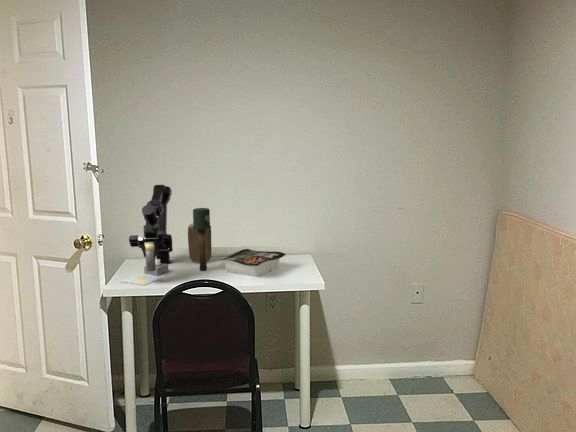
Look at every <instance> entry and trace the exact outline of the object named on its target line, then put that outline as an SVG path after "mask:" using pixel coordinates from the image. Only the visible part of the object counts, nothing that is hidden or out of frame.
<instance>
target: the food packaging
mask: <svg viewBox="0 0 576 432" xmlns="http://www.w3.org/2000/svg"><path fill="white" fill-rule="evenodd" d="M286 255H287V254H286V253H285V252H282V251H263V250H261V251H258V250H253V249H249V248H244V249H241V250H238V251H236V252H235V253H233V254H231V255H228V256H226V257H225V258H221V259H219V260H220V261H223V263H224V268H225V270H226V273H232V274H237V275H244V276H249V277H255V278H258V277H259V276H263V275H265V274H266V273H268V272H273V271H274V270H276V269H278V267H279V262H280V259H282V258H283V257H285V256H286Z"/></svg>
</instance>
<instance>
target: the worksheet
mask: <svg viewBox="0 0 576 432" xmlns="http://www.w3.org/2000/svg"><path fill="white" fill-rule="evenodd" d="M162 279H163V277H161V276H156V275H150V274H141V273H138V274H135V275H133V276H130V277H127V278H124V279H122V280H119V282H120V283H126V284H131V285H136V286H137V285H139V286H144V287H145V286H146V285H149V284H151V283H155V282H156V281H159V280H162Z"/></svg>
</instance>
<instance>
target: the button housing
mask: <svg viewBox="0 0 576 432" xmlns="http://www.w3.org/2000/svg"><path fill="white" fill-rule="evenodd" d="M143 270H144V271H143V273H144V274H143V275H150V276H156V277H159V276H160V275H163V274H165V273H166V274H167V273H168V272H169V264H162V263H160V266H159V267H156V270H155V271H146V265H144V266H143Z"/></svg>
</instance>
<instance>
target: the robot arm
mask: <svg viewBox="0 0 576 432" xmlns="http://www.w3.org/2000/svg"><path fill="white" fill-rule="evenodd" d="M152 189H153V191H152V193H153V194H152V196H151V200H150V201H148V202H147V203H146V205H144V206H143V207H142V208H141V212H142V213H141V214H142V216H143V218H144V221H145V225H143V236H141V237H140V236H139V235H138V234H137V235H134V234H133V235H132V234H131V235H130V236H129V237H128V243H129V245H130V247H132V248H135V247H136V248H137V247H138V248H139V249H141V250H142V254H143V257H144V258H146V256H145V244H147V243H154V247H155V254H154V256H155V259H160V263H162V264H168V265H169V264H172V263H173V261H172V260H170V259H171V258H170V253H171V252H173V251H174V250H173V236H172V234H171V233H170V234H168V233H167V230H168V229H167V222H168V220H167V219H168V217H167V216H168V215H167V214H168V204H169V202H170V201H171V196H172V193H173V191H172V188H171V187H170V186H166V185H165V184H154V185H153V188H152Z"/></svg>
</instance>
